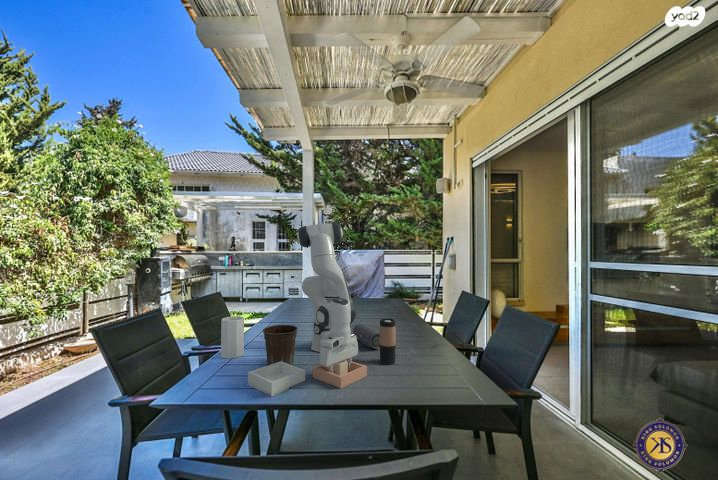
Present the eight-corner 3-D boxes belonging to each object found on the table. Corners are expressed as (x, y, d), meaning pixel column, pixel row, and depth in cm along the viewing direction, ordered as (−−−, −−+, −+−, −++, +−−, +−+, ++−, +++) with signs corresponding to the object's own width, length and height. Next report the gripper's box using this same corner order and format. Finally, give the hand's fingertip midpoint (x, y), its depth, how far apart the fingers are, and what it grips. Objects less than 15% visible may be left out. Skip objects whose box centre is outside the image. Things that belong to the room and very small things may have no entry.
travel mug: (376, 363, 153) (377, 320, 153) (383, 358, 159) (383, 317, 160) (392, 366, 149) (392, 322, 149) (397, 361, 156) (398, 319, 156)
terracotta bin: (339, 368, 146) (339, 357, 146) (366, 377, 136) (366, 365, 136) (312, 379, 133) (312, 367, 134) (340, 390, 123) (341, 377, 123)
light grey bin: (281, 372, 141) (281, 361, 141) (305, 382, 130) (305, 370, 131) (247, 384, 128) (248, 372, 128) (271, 396, 118) (271, 383, 118)
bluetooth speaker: (351, 340, 189) (351, 323, 190) (366, 338, 193) (366, 322, 194) (369, 352, 169) (369, 333, 169) (384, 350, 173) (384, 331, 173)
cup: (247, 352, 168) (248, 316, 168) (237, 359, 157) (238, 321, 157) (227, 351, 169) (228, 315, 170) (216, 358, 158) (216, 320, 158)
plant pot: (289, 370, 143) (289, 334, 143) (255, 368, 146) (256, 332, 146) (302, 358, 159) (303, 325, 159) (272, 356, 162) (272, 323, 162)
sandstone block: (339, 373, 138) (339, 359, 138) (347, 376, 135) (347, 361, 135) (332, 376, 134) (332, 362, 134) (340, 379, 131) (340, 364, 131)
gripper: (350, 331, 145) (350, 362, 145) (317, 341, 129) (316, 376, 129) (361, 334, 141) (361, 366, 141) (328, 345, 125) (328, 380, 125)
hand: (339, 371), depth 135 cm, fingers open, 8 cm apart
